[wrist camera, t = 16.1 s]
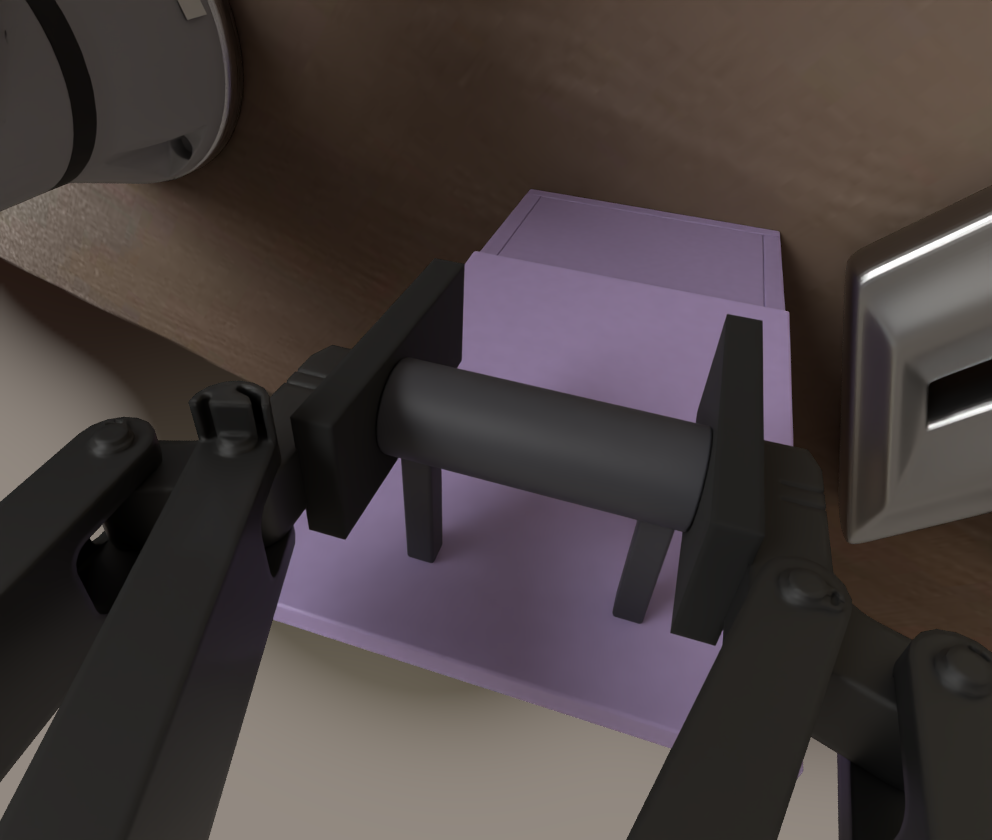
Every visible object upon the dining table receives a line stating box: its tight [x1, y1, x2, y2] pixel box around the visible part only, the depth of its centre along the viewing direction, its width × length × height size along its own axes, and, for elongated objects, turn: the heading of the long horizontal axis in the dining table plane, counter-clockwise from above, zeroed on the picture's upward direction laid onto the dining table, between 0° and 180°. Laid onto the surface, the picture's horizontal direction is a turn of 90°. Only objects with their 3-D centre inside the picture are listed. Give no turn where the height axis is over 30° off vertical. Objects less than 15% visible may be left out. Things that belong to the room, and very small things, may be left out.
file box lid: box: [273, 251, 803, 779], centre depth 19 cm, size 17×13×6 cm
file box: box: [480, 189, 785, 311], centre depth 36 cm, size 17×13×9 cm
